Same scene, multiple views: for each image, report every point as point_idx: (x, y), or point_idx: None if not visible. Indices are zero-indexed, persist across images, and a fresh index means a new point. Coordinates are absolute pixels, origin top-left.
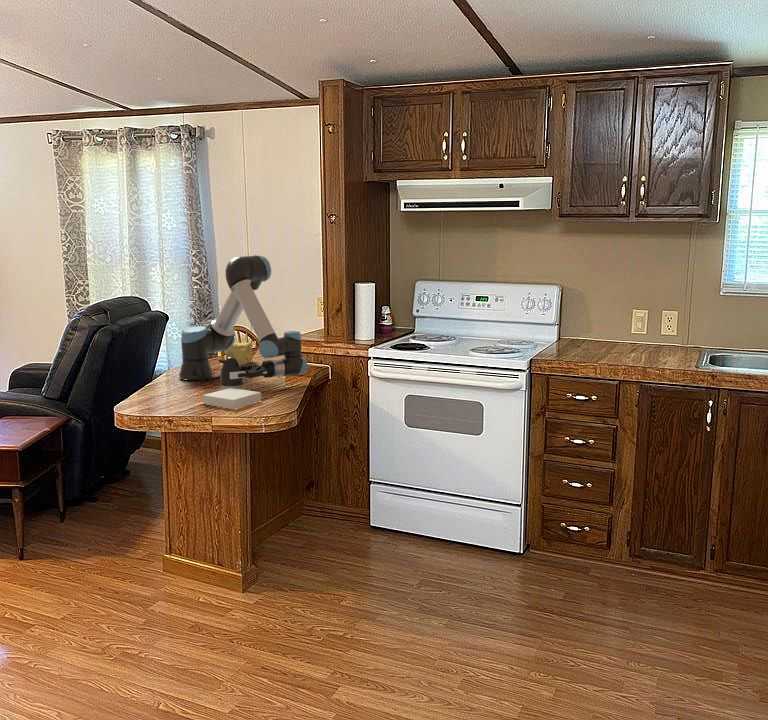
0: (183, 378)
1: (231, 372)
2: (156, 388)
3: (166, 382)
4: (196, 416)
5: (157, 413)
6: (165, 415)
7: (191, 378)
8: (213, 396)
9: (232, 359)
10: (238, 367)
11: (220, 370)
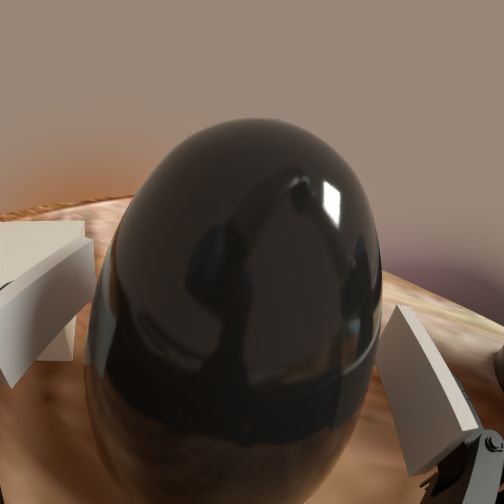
0: (501, 348)
1: (80, 244)
2: (402, 288)
3: (473, 322)
4: (33, 213)
5: (124, 205)
6: (97, 204)
7: (501, 360)
8: (40, 222)
9: (185, 138)
10: (96, 299)
11: (387, 331)
